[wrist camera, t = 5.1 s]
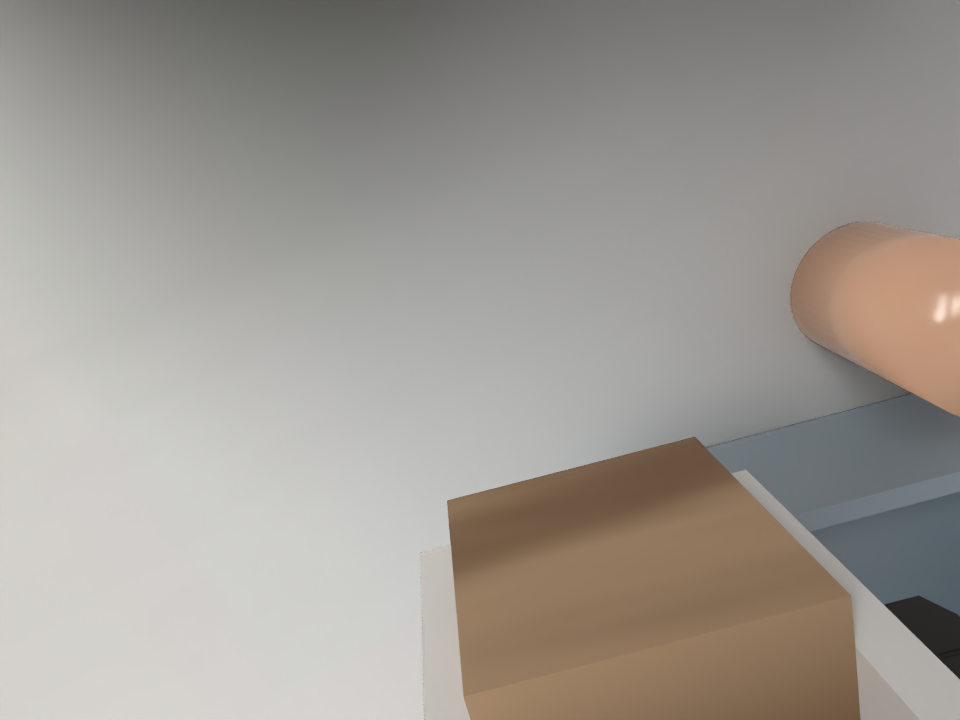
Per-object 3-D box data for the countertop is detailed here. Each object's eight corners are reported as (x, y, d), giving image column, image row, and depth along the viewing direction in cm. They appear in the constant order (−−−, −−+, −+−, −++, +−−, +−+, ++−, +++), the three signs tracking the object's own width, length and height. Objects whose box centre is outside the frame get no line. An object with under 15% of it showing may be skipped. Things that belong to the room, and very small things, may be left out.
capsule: (785, 240, 25) (918, 278, 19) (913, 207, 25) (1091, 233, 19) (795, 362, 27) (921, 437, 20) (915, 330, 27) (1079, 395, 20)
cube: (447, 500, 13) (463, 697, 8) (695, 436, 13) (851, 595, 8) (503, 699, 15) (544, 962, 10) (725, 641, 15) (873, 874, 10)
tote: (559, 486, 28) (593, 568, 22) (970, 378, 28) (1099, 434, 23) (613, 729, 32) (653, 844, 27) (967, 634, 32) (1074, 730, 27)
